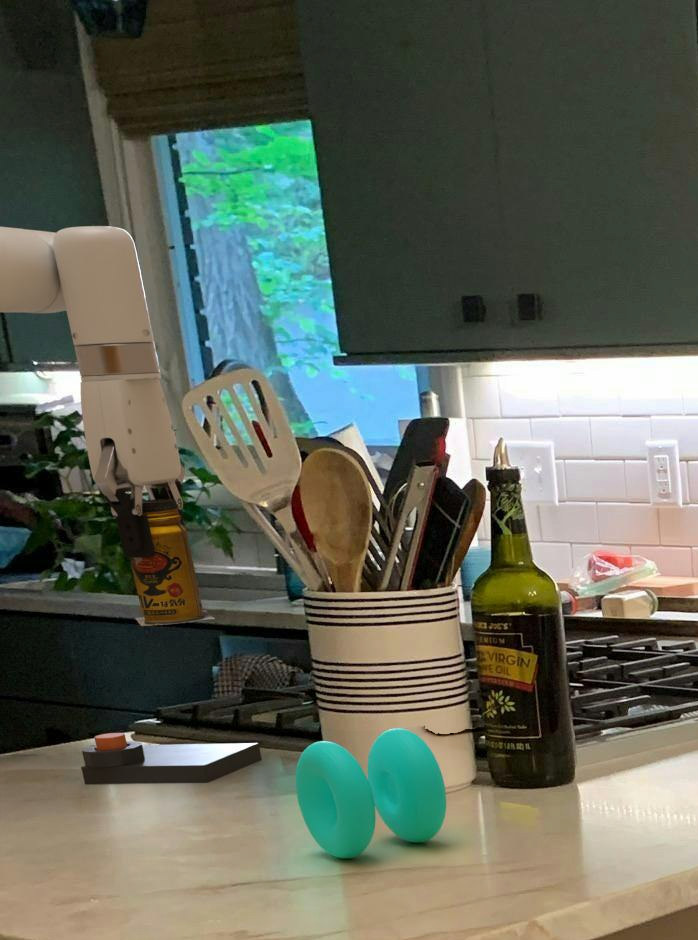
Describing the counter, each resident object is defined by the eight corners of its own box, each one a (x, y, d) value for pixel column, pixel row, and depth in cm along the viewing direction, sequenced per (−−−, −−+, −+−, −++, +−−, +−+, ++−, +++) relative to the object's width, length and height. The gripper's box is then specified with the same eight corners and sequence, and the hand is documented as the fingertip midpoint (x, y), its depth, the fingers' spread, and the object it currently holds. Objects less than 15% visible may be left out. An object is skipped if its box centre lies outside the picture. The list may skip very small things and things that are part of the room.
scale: (78, 786, 203) (70, 752, 202) (140, 762, 214) (134, 730, 213) (205, 784, 201) (198, 750, 199) (262, 760, 212) (256, 728, 211)
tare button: (91, 753, 203) (88, 738, 202) (107, 747, 206) (104, 732, 205) (118, 752, 202) (114, 737, 202) (133, 747, 205) (130, 732, 204)
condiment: (142, 627, 200) (116, 504, 195) (134, 619, 206) (109, 500, 202) (216, 621, 202) (192, 499, 197) (206, 613, 209) (183, 495, 204)
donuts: (460, 846, 170) (442, 731, 166) (357, 869, 164) (336, 750, 160) (403, 831, 177) (384, 720, 173) (301, 852, 171) (280, 738, 166)
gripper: (129, 365, 202) (166, 546, 209) (34, 368, 186) (78, 563, 194) (196, 361, 201) (230, 544, 208) (106, 364, 185) (147, 561, 193)
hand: (156, 551), depth 201 cm, fingers closed on condiment, 6 cm apart
